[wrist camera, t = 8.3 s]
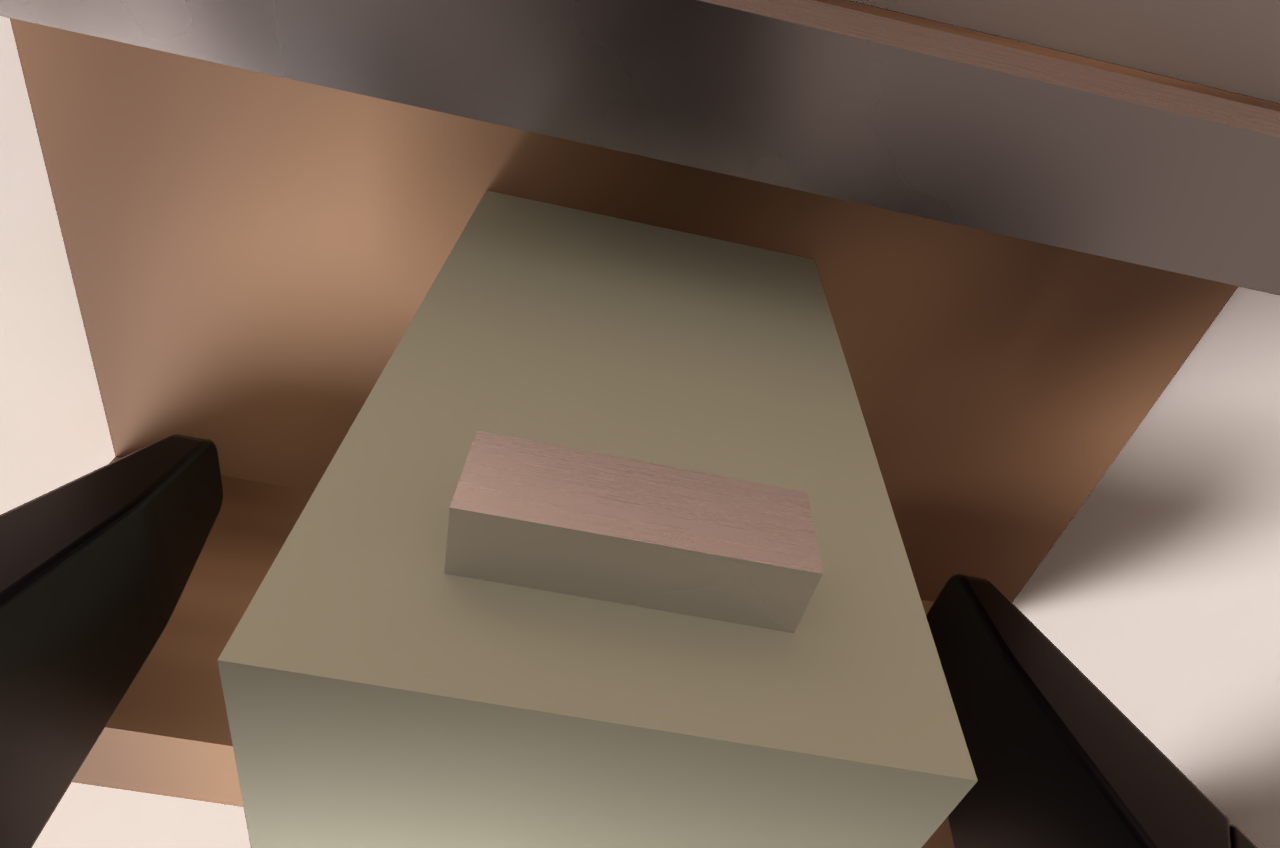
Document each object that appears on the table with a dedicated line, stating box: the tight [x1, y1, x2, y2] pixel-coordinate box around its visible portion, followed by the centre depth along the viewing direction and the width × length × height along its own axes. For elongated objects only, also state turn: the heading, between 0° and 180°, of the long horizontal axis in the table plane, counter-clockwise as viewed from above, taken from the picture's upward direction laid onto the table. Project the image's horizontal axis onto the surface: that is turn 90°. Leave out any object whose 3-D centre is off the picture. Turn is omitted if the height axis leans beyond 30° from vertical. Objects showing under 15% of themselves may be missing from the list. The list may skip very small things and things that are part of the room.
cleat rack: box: [0, 0, 1280, 848], centre depth 10 cm, size 16×10×6 cm, turn 79°
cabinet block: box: [217, 190, 978, 848], centre depth 9 cm, size 4×6×8 cm
